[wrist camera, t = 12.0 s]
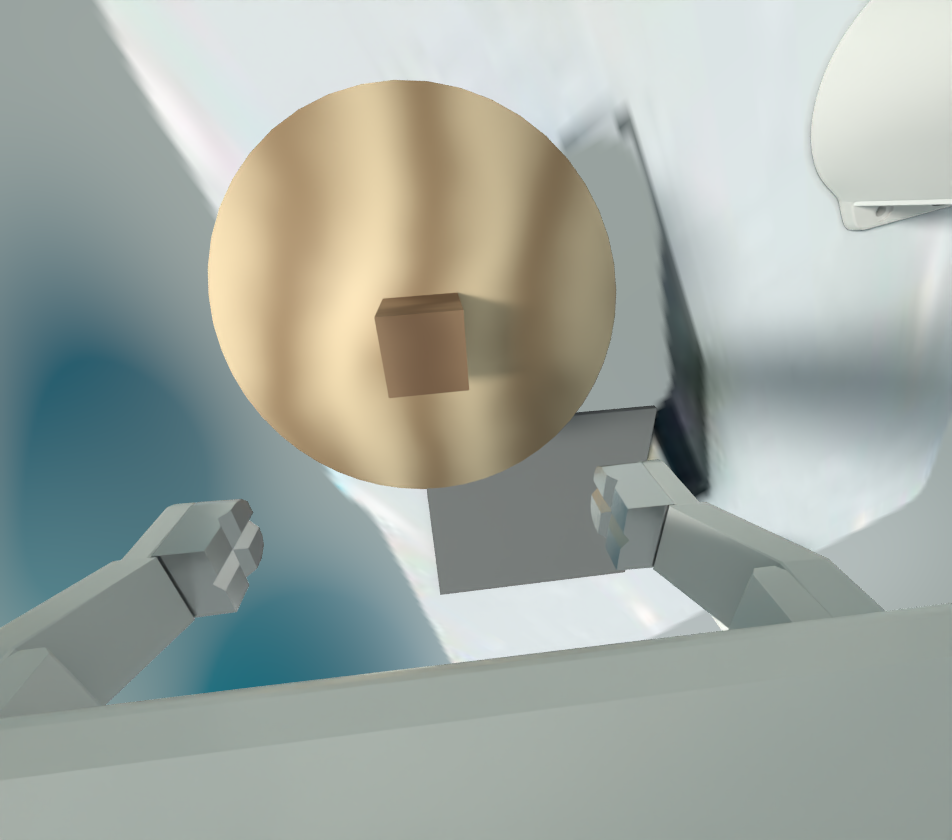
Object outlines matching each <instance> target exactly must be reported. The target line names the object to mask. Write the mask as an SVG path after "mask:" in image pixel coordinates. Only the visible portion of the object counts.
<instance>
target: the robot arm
mask: <svg viewBox="0 0 952 840" xmlns="http://www.w3.org/2000/svg"><path fill="white" fill-rule="evenodd" d="M811 148H812V155H813V160H814V164H815V167H816V169H817V172H818V174H819V176H820V178H821V179H822V181H823V182H824V184H825V185H826V186H827V187H828V188H829V189H830V190H831V191H832V192H833V194H834V195H835V196H836V197H837V199H838V201H839V205H840V211H841V216H842V220H843V223H844V225H845V227H846V228H847V229H848V230H865V229H869V228H873V227H876V226H880V225H884V224H887V223H891V222H895V221H899V220H902V219H906V218H910V217H913V216H917V215H921V214H924V213H928V212H932V211H935V210H939V209H943V208H946V207H950V206H952V0H870V2H869V3H868V4H867V5H866V6H865V7H864V8H863V10H862V11H861V12H860V13H859V15H858V16H857V17H856V19H855V20H854V21H853V23H852V24H851V26H850V27H849V28H848V30H847V31H846V33H845V35H844V36H843V38H842V39H841V41H840V43H839V45H838V46H837V48H836V50H835V52H834V54H833V56H832V58H831V60H830V62H829V64H828V66H827V69H826V71H825V74H824V76H823V79H822V81H821V84H820V87H819V91H818V94H817V98H816V101H815V106H814V111H813V117H812V125H811ZM876 210H877V212H876ZM593 481H594V482H595V484H596V486H597V489H596V490H595V491H594V493H593V494H592V495H591V514H592V519H593V522H594V526H595V528H596V530H597V532H598V533H599V534H600V535H602V536H603V537H605V538H606V545H605V548H606V550H607V552H608V554H609V556H610V558H611V560H612V562H613V564H614V566H615V568H616V570H626V569H638V568H651V567H654V568H653V569H654V570H655V571H656V572H658V573H659V574H660V575H661V576H663V577H664V578H665V579H667V580H668V581H669V582H670V583H672V584H673V585H674V586H675V587H677V588H678V589H679V590H681V591H682V592H683V593H684V594H686V595H687V596H688V597H689V598H691V599H692V600H693V601H695V602H696V603H697V604H698V605H700V606H701V607H702V608H703V609H705V610H706V611H707V612H709V613H710V614H711V615H712V616H714V617H715V618H716V619H717V620H719V621H720V622H721V623H723V624H724V625H725V626H726V627H728V628H729V629H728V630H724V631H716V632H708V633H699V634H691V635H683V636H675V637H667V638H658V639H650V640H641V641H633V642H625V643H616V644H608V645H600V646H592V647H584V648H575V649H567V650H559V651H551V652H543V653H534V654H526V655H518V656H510V657H502V658H493V659H485V660H477V661H469V662H460V663H452V664H444V665H435V666H427V667H420V668H411V669H403V670H394V671H386V672H377V673H369V674H361V675H353V676H344V677H336V678H327V679H319V680H311V681H303V682H294V683H286V684H278V685H269V686H261V687H254V688H245V689H237V690H228V691H221V692H212V693H203V694H195V695H187V696H179V697H170V698H162V699H154V700H145V701H137V702H129V703H120V704H112V705H106V704H107V703H108V702H109V701H110V700H111V699H112V698H113V697H114V696H115V695H116V694H117V693H119V692H120V691H121V690H122V689H123V688H124V687H125V686H126V685H127V684H128V683H129V682H130V681H131V680H132V679H133V678H134V677H135V676H136V675H137V674H139V672H141V671H142V670H143V669H144V668H145V667H146V666H147V665H148V664H149V663H150V662H151V661H152V660H153V659H154V658H155V657H156V656H157V655H158V654H160V652H162V651H163V650H164V649H165V648H166V647H167V646H168V645H169V644H170V643H171V642H172V641H173V640H174V639H175V638H176V637H177V636H178V635H179V634H180V633H182V632H183V631H184V630H185V629H186V628H187V627H188V626H189V625H190V624H191V623H192V622H193V621H194V620H195V619H194V618H195V617H202V616H210V615H217V614H225V613H232V612H237V610H238V608H239V606H240V604H241V601H242V599H243V597H244V595H245V593H246V591H247V589H248V587H249V583H248V581H247V579H246V577H247V576H249V575H250V574H251V573H252V572H253V571H255V570H256V569H257V568H258V565H259V563H260V561H261V559H262V554H263V547H264V543H263V537H262V533H261V531H260V528H259V527H258V526H257V525H255V524H254V523H252V522H251V521H249V520H250V518H251V515H252V514H253V511H252V509H251V507H250V505H249V503H248V501H245V500H243V499H236V500H223V501H209V502H197V503H185V504H174V505H172V506H169V507H167V508H166V509H165V511H164V512H163V513H162V514H161V515H160V516H159V517H158V519H157V520H156V521H155V522H154V523H153V524H152V525H151V527H150V528H149V529H148V530H147V531H146V532H145V533H144V535H143V536H142V537H141V538H140V539H139V540H138V542H137V543H136V544H135V545H134V546H133V547H132V549H131V550H130V551H129V552H128V553H127V554H126V555H125V557H124V558H123V559H122V560H121V561H113V562H111V563H109V564H108V565H106V566H104V567H103V568H101V569H99V570H98V571H96V572H94V573H92V574H91V575H89V576H87V577H86V578H84V579H82V580H81V581H79V582H77V583H76V584H74V585H72V586H70V587H69V588H67V589H65V590H64V591H62V592H60V593H59V594H57V595H55V596H53V597H52V598H50V599H49V600H47V601H45V602H43V603H42V604H40V605H38V606H37V607H35V608H33V609H31V610H30V611H28V612H26V613H25V614H23V615H21V616H20V617H18V618H16V619H15V620H13V621H11V622H10V623H8V624H6V625H4V626H3V627H1V628H0V840H952V603H948V604H941V605H932V606H924V607H916V608H907V609H899V610H892V611H885V610H884V609H883V608H882V607H881V606H879V605H878V604H877V603H876V602H875V601H874V600H873V599H872V598H870V596H869V595H867V594H866V593H865V592H864V591H863V590H862V589H861V588H860V587H859V586H858V585H857V584H855V583H854V582H853V581H852V580H851V579H850V578H849V577H848V576H847V575H846V574H845V573H843V572H842V571H841V570H840V569H839V568H838V567H837V566H836V565H835V564H834V563H832V562H831V561H830V560H829V559H828V558H826V557H824V556H822V555H819V554H817V553H815V552H813V551H811V550H809V549H806V548H804V547H802V546H800V545H798V544H796V543H793V542H791V541H789V540H787V539H785V538H783V537H780V536H778V535H776V534H774V533H772V532H770V531H768V530H765V529H763V528H761V527H759V526H757V525H755V524H752V523H750V522H748V521H746V520H744V519H742V518H739V517H737V516H735V515H733V514H731V513H729V512H727V511H724V510H722V509H720V508H718V507H716V506H714V505H711V504H709V503H707V502H700V503H699V502H698V500H697V499H696V498H695V497H694V496H693V495H692V494H691V492H690V491H689V490H688V489H687V488H686V487H685V486H684V485H683V483H682V482H681V481H680V480H679V479H678V478H677V477H676V476H675V474H674V473H673V472H672V471H671V470H670V469H669V468H668V466H667V465H666V464H665V463H664V462H663V461H661V460H659V459H656V460H648V461H640V462H637V463H627V464H616V465H606V466H597V467H596V470H595V472H594V479H593Z"/></svg>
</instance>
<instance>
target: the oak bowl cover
mask: <svg viewBox="0 0 952 840" xmlns="http://www.w3.org/2000/svg"><path fill="white" fill-rule="evenodd" d="M615 283H616V282H615V271H614V262H613V257H612V252H611V247H610V242H609V238H608V235H607V232H606V229H605V227H604V223H603V220H602V218H601V215H600V212H599V209H598V208H597V206H596V204H595V202H594V200H593V198H592V196H591V194H590V192H589V190H588V188H587V186H586V184H585V183H584V181H583V180H582V178H581V177H580V176H579V174H578V173H577V171H576V170H575V169H574V167H573V166H572V164H571V163H570V162H569V160H568V159H567V158H566V157H565V156H564V155H563V153H562V152H561V151H560V150H559V149H558V148H557V147H556V146H555V145H554V144H553V143H552V142H551V141H550V140H549V139H548V138H547V137H546V136H545V135H544V134H543V133H542V132H540V131H539V130H538V129H536V128H535V127H534V126H533V125H531V124H530V123H529V122H528V121H526V120H525V119H524V118H522V117H521V116H520V115H518V114H516V113H514V112H513V111H511V110H509V109H507V108H505V107H504V106H502V105H500V104H498V103H497V102H495V101H493V100H491V99H488V98H486V97H483V96H480V95H478V94H475V93H473V92H470V91H467V90H465V89H462V88H458V87H453V86H448V85H443V84H438V83H433V82H429V81H405V80H391V81H383V82H375V83H368V84H360V85H357V86H354V87H351V88H347V89H344V90H341V91H338V92H334V93H331V94H328V95H326V96H324V97H322V98H320V99H318V100H316V101H314V102H312V103H310V104H308V105H306V106H305V107H303V108H301V109H299V110H297V111H296V112H295V113H293V114H292V115H291V116H289V117H288V118H287V119H285V120H284V121H283V122H281V123H280V124H279V125H277V126H276V127H275V128H273V129H272V130H271V131H270V132H269V133H268V134H267V135H266V136H265V138H264V139H263V140H262V141H261V142H260V143H259V144H258V145H257V146H256V147H255V148H254V149H253V150H252V151H251V152H250V154H249V155H248V157H247V158H246V160H245V161H244V163H243V164H242V166H241V167H240V169H239V170H238V172H237V173H236V175H235V176H234V178H233V179H232V181H231V183H230V186H229V188H228V190H227V192H226V194H225V197H224V199H223V201H222V203H221V205H220V208H219V211H218V215H217V219H216V222H215V226H214V230H213V233H212V237H211V245H210V253H209V262H208V284H209V285H208V288H209V300H210V306H211V312H212V318H213V324H214V327H215V331H216V334H217V337H218V340H219V343H220V346H221V350H222V352H223V354H224V357H225V359H226V361H227V363H228V365H229V368H230V370H231V372H232V374H233V376H234V378H235V379H236V381H237V382H238V384H239V386H240V387H241V389H242V391H243V392H244V394H245V395H246V397H247V398H248V399H249V401H250V402H251V403H252V405H253V406H254V407H255V408H256V410H257V411H258V412H259V413H260V415H261V416H262V417H263V418H264V419H265V420H266V421H267V422H268V423H269V424H270V425H271V426H272V427H273V428H274V429H275V430H276V431H277V432H278V433H279V434H280V435H281V436H282V437H284V438H285V439H286V440H287V441H289V442H290V443H291V444H292V445H294V446H295V447H296V448H297V449H299V450H300V451H302V452H303V453H305V454H307V455H308V456H310V457H311V458H313V459H314V460H316V461H318V462H319V463H321V464H324V465H326V466H328V467H330V468H332V469H334V470H336V471H338V472H340V473H343V474H346V475H348V476H351V477H354V478H356V479H359V480H363V481H367V482H371V483H375V484H379V485H384V486H391V487H398V488H413V489H429V488H444V487H450V486H456V485H462V484H467V483H470V482H474V481H477V480H481V479H484V478H487V477H489V476H492V475H495V474H497V473H500V472H502V471H504V470H506V469H508V468H510V467H512V466H514V465H516V464H518V463H520V462H521V461H523V460H525V459H526V458H527V457H529V456H530V455H532V454H533V453H535V452H536V451H538V450H539V449H541V448H542V447H543V446H544V445H545V444H546V443H548V442H549V441H550V440H551V439H552V438H554V437H555V436H556V435H557V434H558V433H559V432H560V431H561V429H562V428H563V427H564V426H565V425H566V424H567V423H568V422H569V421H570V420H571V419H572V417H573V416H574V415H575V413H576V412H577V411H578V409H579V408H580V406H581V405H582V404H583V402H584V401H585V399H586V397H587V396H588V394H589V392H590V390H591V389H592V387H593V385H594V383H595V381H596V379H597V377H598V375H599V372H600V370H601V368H602V365H603V363H604V360H605V357H606V354H607V350H608V347H609V344H610V340H611V335H612V329H613V323H614V318H615V303H616V284H615Z"/></svg>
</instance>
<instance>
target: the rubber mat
mask: <svg viewBox="0 0 952 840" xmlns="http://www.w3.org/2000/svg"><path fill="white" fill-rule="evenodd" d="M656 411H657V408H656V407H655V406H644V407H632V408H621V409H611V410H600V411H589V412H579V413H575V415H574V416H573V417H572V419H571V420H570V421H569V422H568V423H567V424H566V425H565V426H564V427H563V428H562V429H561V431H560V432H559V433H558V434H557V435H556V436H555V437H554V438H552V439H551V440H550V441H549V442H548V443H546V444H545V445H544V446H543V447H542V448H541V449H539V450H538V451H536V452H535V453H533V454H532V455H530V456H529V457H527V458H526V459H525V460H523V461H521V462H520V463H518V464H516V465H514V466H512V467H510V468H508V469H506V470H504V471H502V472H500V473H497V474H495V475H492V476H489V477H487V478H484V479H481V480H477V481H474V482H470V483H467V484H462V485H456V486H450V487H444V488H429V489H427V495H428V502H429V510H430V518H431V526H432V533H433V541H434V549H435V556H436V564H437V572H438V579H439V587H440V595H442V594H450V593H459V592H467V591H475V590H483V589H491V588H499V587H507V586H515V585H523V584H532V583H540V582H548V581H556V580H564V579H572V578H580V577H588V576H596V575H604V574H613V573H621V572H625V570H616V568H615V566H614V564H613V562H612V560H611V558H610V556H609V554H608V552H607V550H606V548H605V545H606V538H605V537H603V536H602V535H600V534H599V533H598V532H597V530H596V528H595V526H594V522H593V519H592V514H591V495H592V494H593V493H594V491H595V490H596V489H597V486H596V484H595V482H594V481H593V479H594V472H595V470H596V467H597V466H606V465H616V464H627V463H637V462H640V461H647V456H648V451H649V446H650V441H651V436H652V431H653V426H654V421H655V416H656Z"/></svg>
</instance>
